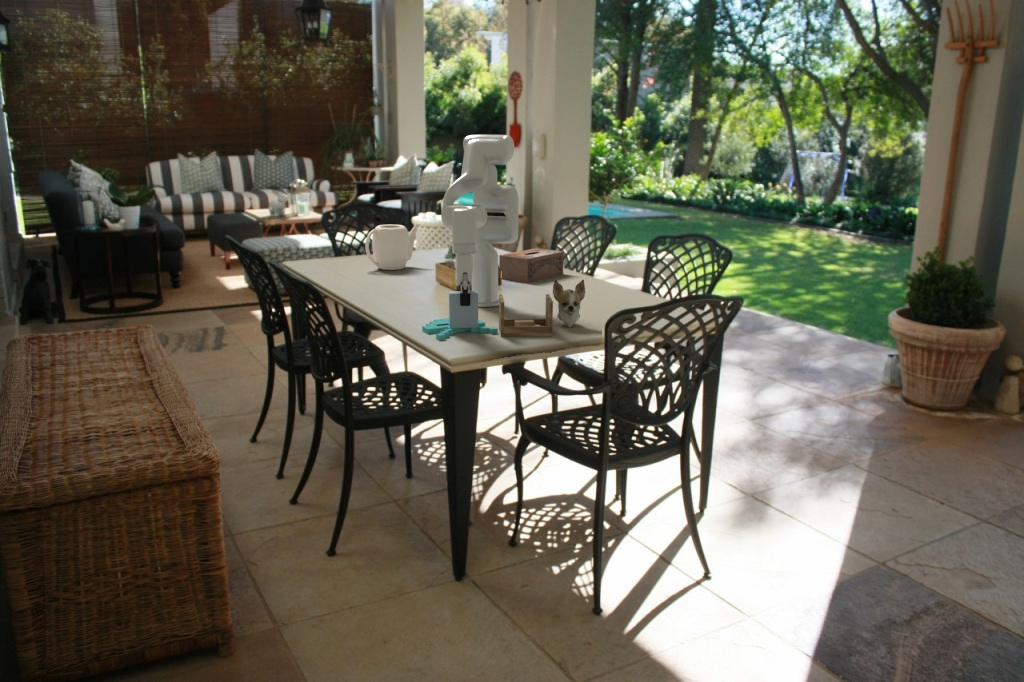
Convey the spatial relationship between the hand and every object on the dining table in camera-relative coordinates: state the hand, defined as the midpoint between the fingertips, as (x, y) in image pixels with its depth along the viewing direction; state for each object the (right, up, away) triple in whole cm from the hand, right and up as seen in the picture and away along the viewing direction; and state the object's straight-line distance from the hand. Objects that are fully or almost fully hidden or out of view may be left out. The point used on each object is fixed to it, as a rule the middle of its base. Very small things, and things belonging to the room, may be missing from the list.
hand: (465, 302), depth 276 cm
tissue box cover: (+23, +15, +95) cm, 99 cm away
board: (0, -8, +2) cm, 8 cm away
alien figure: (-3, -10, +4) cm, 11 cm away
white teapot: (-37, +20, +111) cm, 119 cm away
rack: (+19, -9, +1) cm, 21 cm away
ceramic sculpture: (+33, -7, +10) cm, 36 cm away
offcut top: (+19, -7, -1) cm, 20 cm away
